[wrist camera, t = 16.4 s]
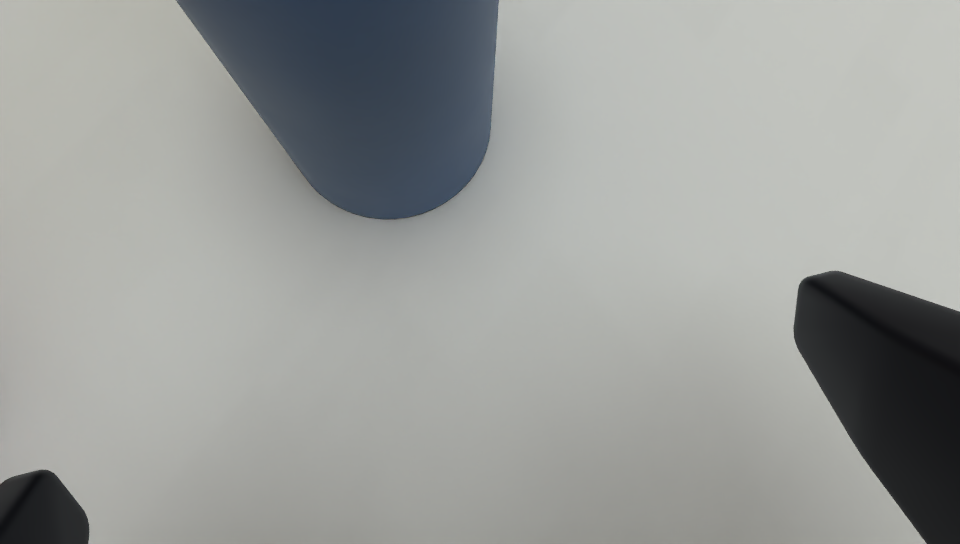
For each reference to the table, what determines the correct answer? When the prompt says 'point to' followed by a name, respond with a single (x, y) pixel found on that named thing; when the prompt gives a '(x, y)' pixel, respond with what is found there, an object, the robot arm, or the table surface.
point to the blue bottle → (365, 91)
